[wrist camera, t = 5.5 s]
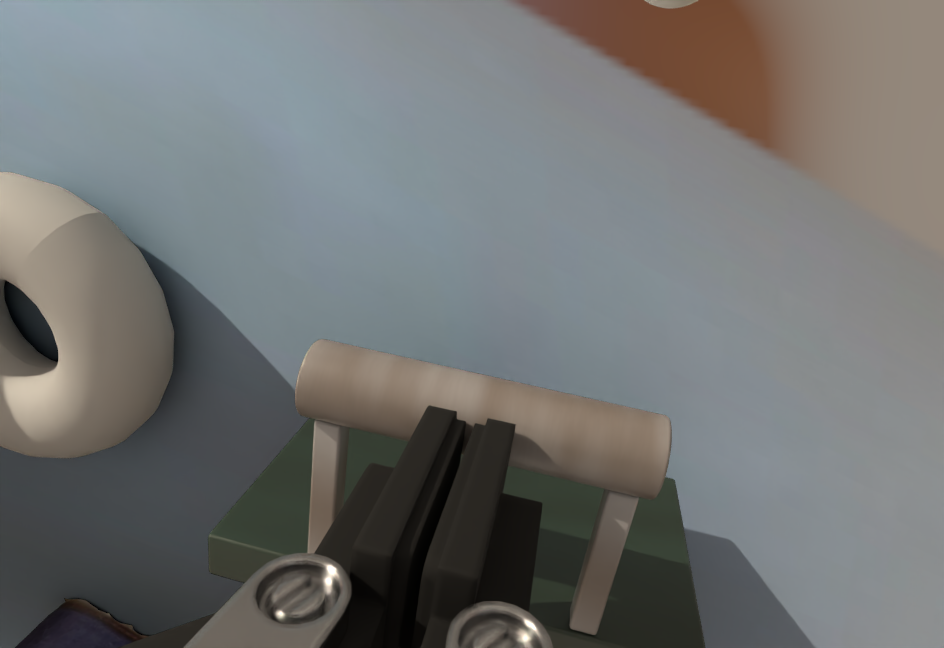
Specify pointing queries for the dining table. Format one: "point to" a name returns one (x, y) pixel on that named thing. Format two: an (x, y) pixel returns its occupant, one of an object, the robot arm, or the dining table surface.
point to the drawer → (528, 476)
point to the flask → (80, 629)
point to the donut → (77, 326)
